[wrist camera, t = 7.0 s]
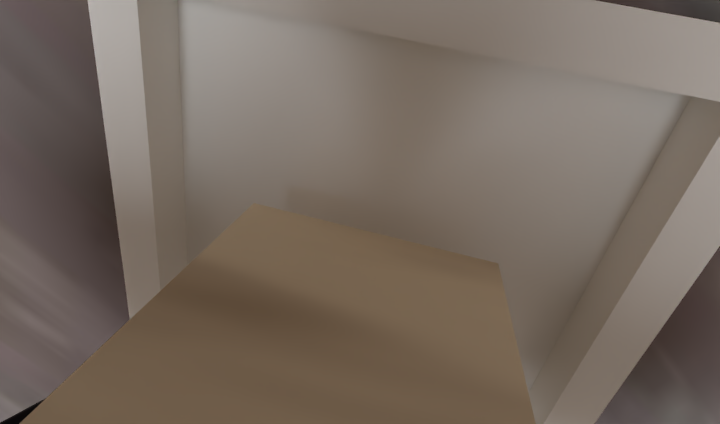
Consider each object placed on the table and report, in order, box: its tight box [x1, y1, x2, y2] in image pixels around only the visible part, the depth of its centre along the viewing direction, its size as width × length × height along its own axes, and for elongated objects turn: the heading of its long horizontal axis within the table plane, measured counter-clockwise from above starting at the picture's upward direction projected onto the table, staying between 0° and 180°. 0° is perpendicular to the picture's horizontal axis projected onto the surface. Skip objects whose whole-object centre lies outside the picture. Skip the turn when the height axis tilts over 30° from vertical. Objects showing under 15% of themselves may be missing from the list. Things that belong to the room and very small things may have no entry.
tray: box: [88, 0, 720, 424], centre depth 10 cm, size 14×12×2 cm
